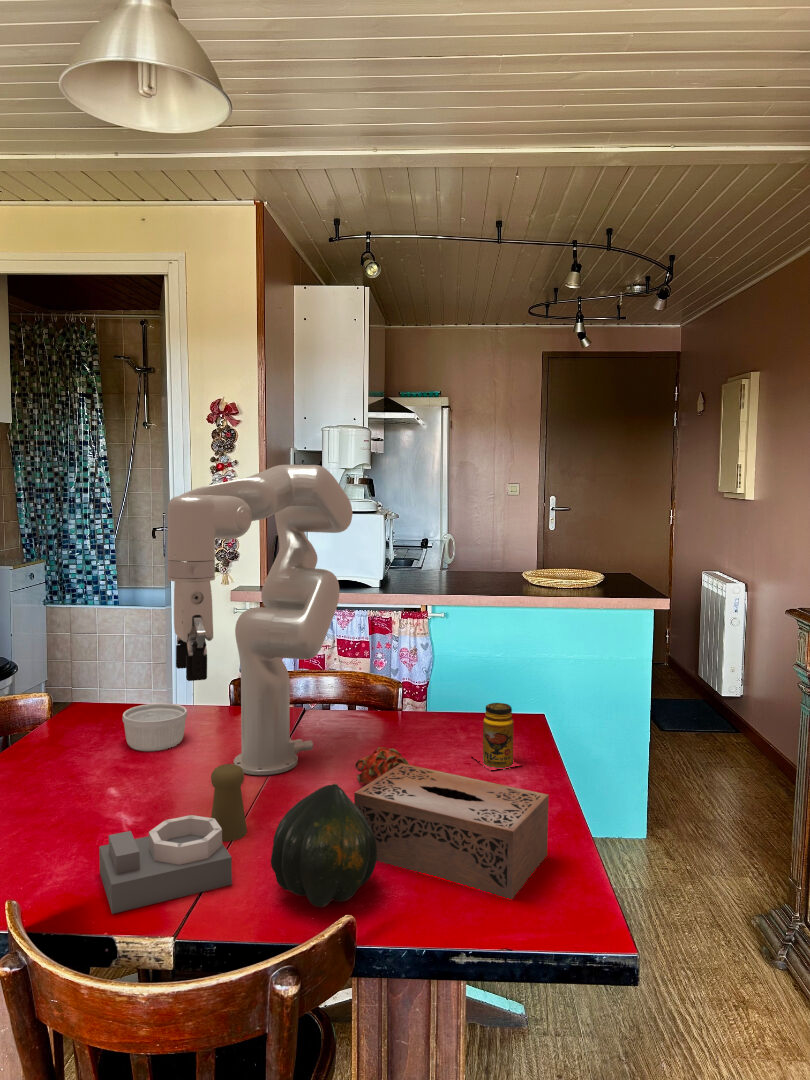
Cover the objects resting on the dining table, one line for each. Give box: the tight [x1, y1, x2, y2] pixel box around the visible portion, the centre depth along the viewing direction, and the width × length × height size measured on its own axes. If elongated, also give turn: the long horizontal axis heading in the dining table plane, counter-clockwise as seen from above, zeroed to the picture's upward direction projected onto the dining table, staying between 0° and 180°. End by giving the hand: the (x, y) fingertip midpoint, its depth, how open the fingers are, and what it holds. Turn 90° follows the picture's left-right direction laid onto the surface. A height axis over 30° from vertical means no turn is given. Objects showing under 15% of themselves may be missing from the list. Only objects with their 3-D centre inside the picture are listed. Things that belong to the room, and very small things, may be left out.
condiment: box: [482, 702, 514, 768], centre depth 158 cm, size 7×8×12 cm
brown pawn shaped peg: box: [210, 763, 248, 843], centre depth 125 cm, size 6×6×11 cm
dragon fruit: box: [354, 747, 410, 785], centre depth 144 cm, size 8×8×12 cm
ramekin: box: [122, 702, 188, 752], centre depth 168 cm, size 13×13×7 cm
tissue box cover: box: [353, 763, 550, 900], centre depth 119 cm, size 26×14×10 cm, turn 61°
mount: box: [98, 814, 233, 915], centre depth 111 cm, size 16×12×6 cm
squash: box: [270, 783, 377, 908], centre depth 109 cm, size 14×15×15 cm
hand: (191, 673), depth 129 cm, fingers open, 9 cm apart
